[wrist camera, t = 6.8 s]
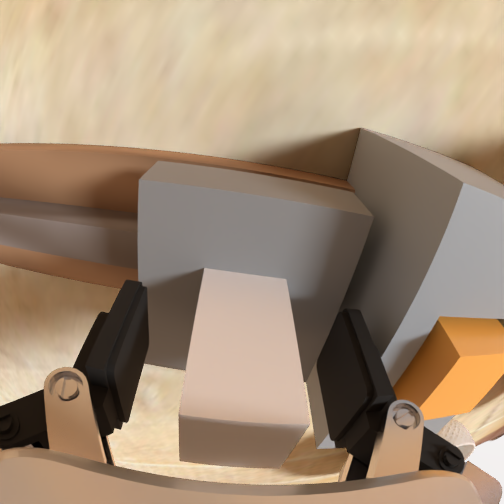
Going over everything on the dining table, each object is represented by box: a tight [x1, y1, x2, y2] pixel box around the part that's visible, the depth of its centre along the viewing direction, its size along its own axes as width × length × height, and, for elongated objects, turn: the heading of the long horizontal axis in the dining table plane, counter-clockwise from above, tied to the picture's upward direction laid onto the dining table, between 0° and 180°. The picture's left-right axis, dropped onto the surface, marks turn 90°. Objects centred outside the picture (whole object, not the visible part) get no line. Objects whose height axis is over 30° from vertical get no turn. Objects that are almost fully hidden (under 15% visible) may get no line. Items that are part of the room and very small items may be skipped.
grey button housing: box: [306, 128, 504, 449], centre depth 15 cm, size 15×8×9 cm, turn 170°
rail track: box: [0, 143, 355, 288], centre depth 16 cm, size 8×24×4 cm, turn 80°
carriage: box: [138, 161, 374, 468], centre depth 12 cm, size 9×8×10 cm
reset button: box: [393, 316, 504, 420], centre depth 11 cm, size 4×4×4 cm
